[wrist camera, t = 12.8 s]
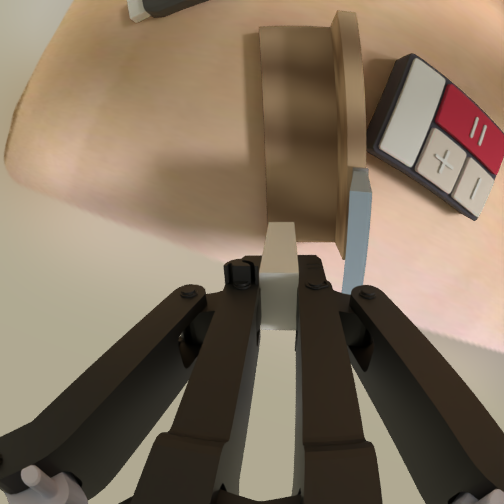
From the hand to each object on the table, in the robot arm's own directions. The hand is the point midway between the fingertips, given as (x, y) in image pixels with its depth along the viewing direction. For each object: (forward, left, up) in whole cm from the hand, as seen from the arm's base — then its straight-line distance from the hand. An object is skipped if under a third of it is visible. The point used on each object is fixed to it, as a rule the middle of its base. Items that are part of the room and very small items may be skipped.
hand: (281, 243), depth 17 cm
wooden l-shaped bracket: (-7, +3, -11) cm, 13 cm away
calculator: (-7, +17, -12) cm, 22 cm away
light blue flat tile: (0, +5, 0) cm, 5 cm away
